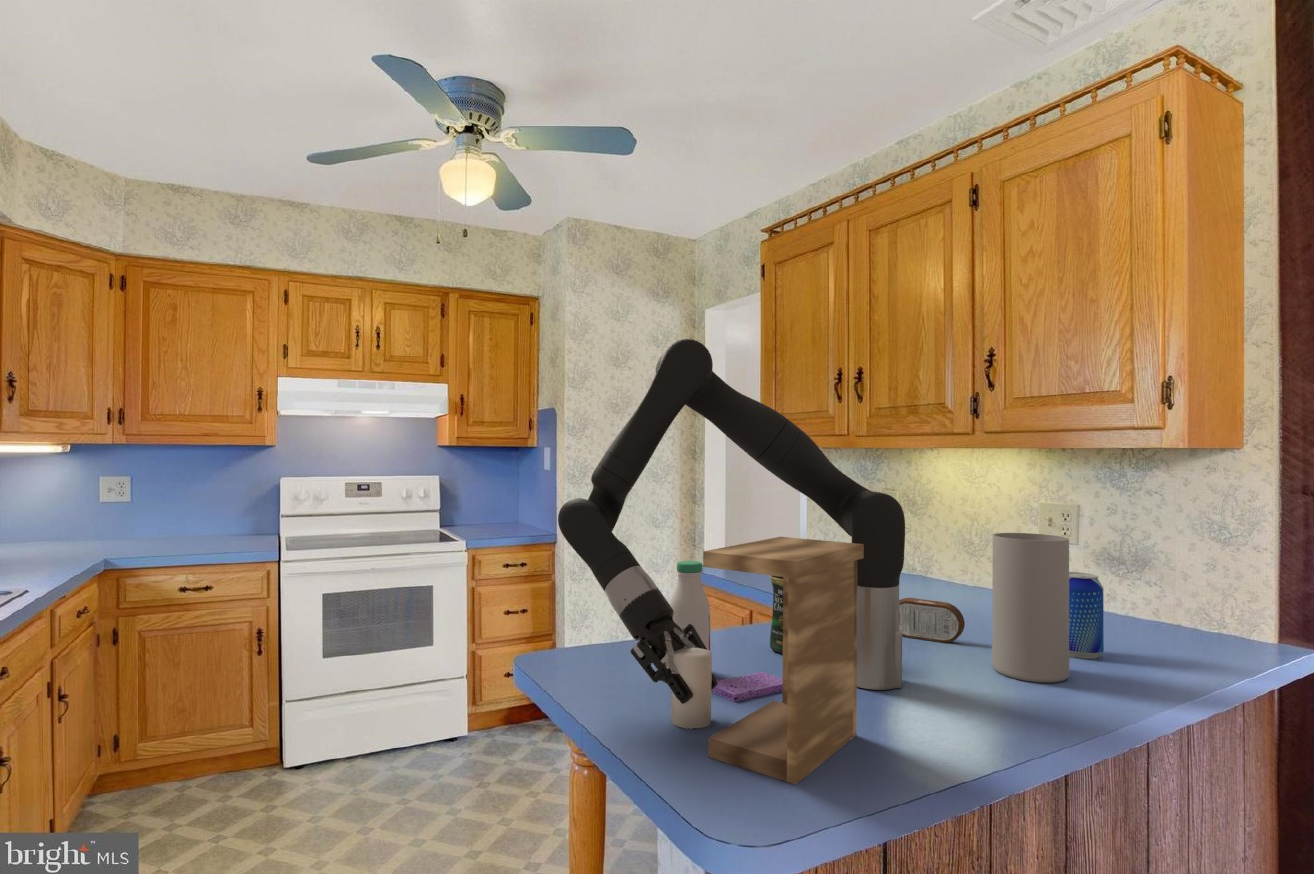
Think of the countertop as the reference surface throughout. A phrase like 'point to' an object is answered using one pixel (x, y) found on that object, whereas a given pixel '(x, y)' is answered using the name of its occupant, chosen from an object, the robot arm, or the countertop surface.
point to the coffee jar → (777, 615)
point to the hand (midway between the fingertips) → (700, 693)
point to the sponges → (748, 686)
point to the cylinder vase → (1030, 606)
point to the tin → (930, 620)
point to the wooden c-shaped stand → (800, 657)
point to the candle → (693, 688)
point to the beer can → (1085, 616)
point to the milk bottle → (691, 600)
